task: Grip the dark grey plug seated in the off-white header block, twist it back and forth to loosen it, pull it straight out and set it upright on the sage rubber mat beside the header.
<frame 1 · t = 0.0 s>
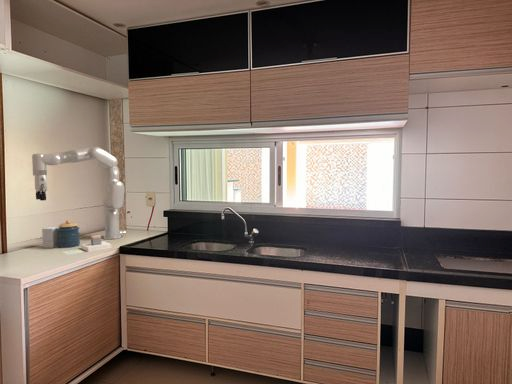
hand: (41, 199, 220), 31 cm above the worktop, tool pointing down, fingers open, 9 cm apart
plug: (96, 242, 219), in the header
mat: (72, 252, 209), on the worktop
canister: (69, 246, 226), on the worktop
header: (96, 248, 219), on the worktop
supplement box: (51, 246, 226), on the worktop
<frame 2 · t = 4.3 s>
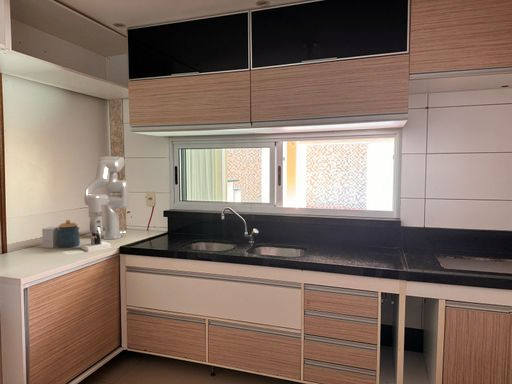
hand: (96, 243, 219), 4 cm above the worktop, tool pointing down, fingers closed on plug, 3 cm apart
plug: (96, 242, 219), in the header, touching gripper
everything else where it was.
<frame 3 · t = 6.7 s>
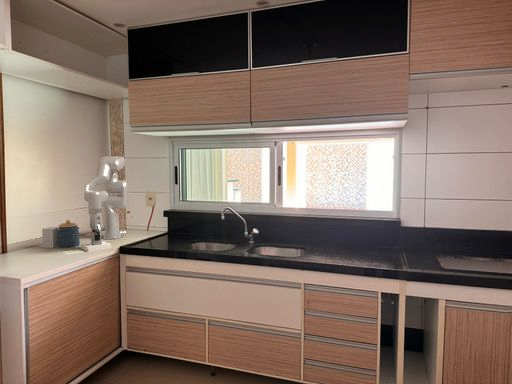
hand: (96, 239, 219), 6 cm above the worktop, tool pointing down, fingers closed on plug, 3 cm apart
plug: (96, 238, 219), point 7 cm above the worktop, touching gripper
everything else where it was.
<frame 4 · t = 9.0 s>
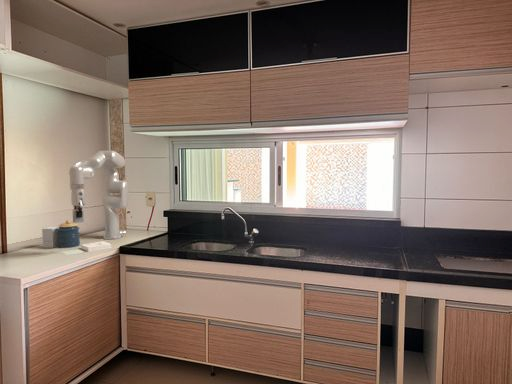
hand: (78, 216, 210), 22 cm above the worktop, tool pointing down, fingers closed on plug, 3 cm apart
plug: (78, 215, 210), point 22 cm above the worktop, touching gripper
everything else where it was.
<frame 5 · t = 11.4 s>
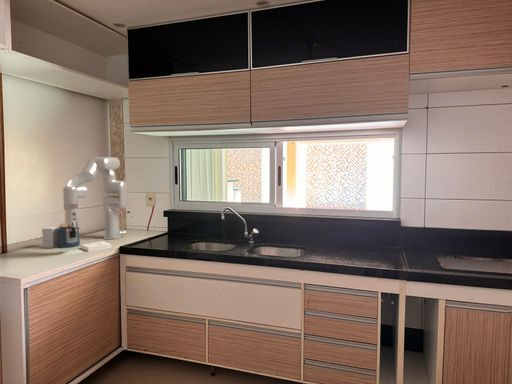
hand: (71, 236, 208), 10 cm above the worktop, tool pointing down, fingers closed on plug, 3 cm apart
plug: (71, 235, 208), point 11 cm above the worktop, touching gripper
everything else where it was.
when the fingers open (5 cm above the worktop, at t = 13.7 s): plug stays where it is, resting on mat.
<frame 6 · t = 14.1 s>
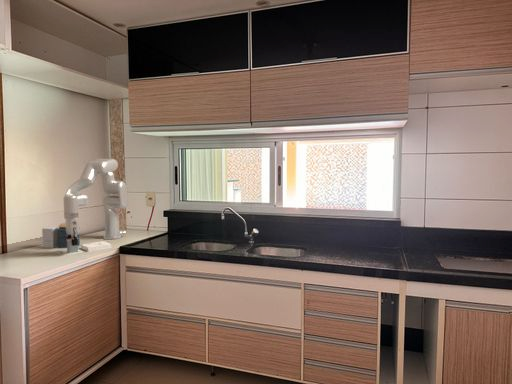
hand: (72, 244, 209), 5 cm above the worktop, tool pointing down, fingers open, 8 cm apart
plug: (72, 245, 209), on the mat
everything else where it was.
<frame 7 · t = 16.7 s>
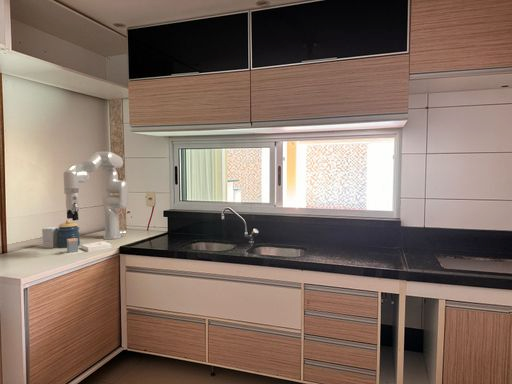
hand: (72, 219, 209), 20 cm above the worktop, tool pointing down, fingers open, 9 cm apart
nothing on the worktop moved.
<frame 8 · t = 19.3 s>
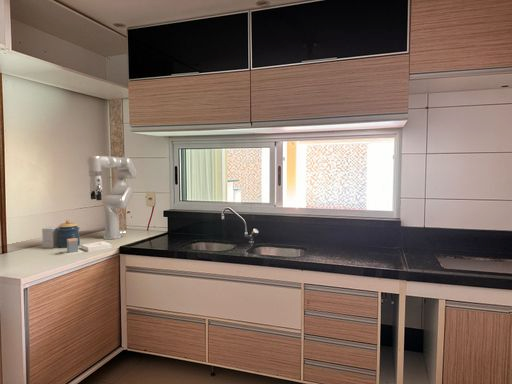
hand: (96, 199, 231), 30 cm above the worktop, tool pointing down, fingers open, 9 cm apart
nothing on the worktop moved.
at the end: plug inside the target area on the mat (0.0 cm from its centre), point 4.5 cm above the mat's base; plug tilted 0°; the gripper is holding nothing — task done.
